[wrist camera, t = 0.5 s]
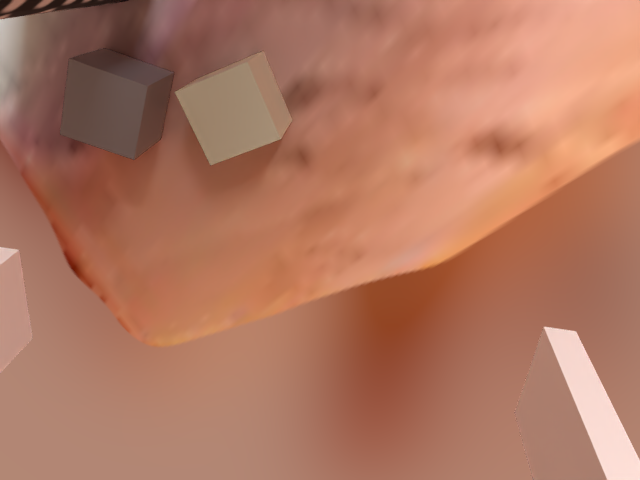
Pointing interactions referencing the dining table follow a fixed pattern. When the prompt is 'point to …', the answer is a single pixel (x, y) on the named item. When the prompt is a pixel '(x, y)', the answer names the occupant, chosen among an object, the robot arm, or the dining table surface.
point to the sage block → (235, 108)
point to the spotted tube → (44, 6)
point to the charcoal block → (115, 102)
